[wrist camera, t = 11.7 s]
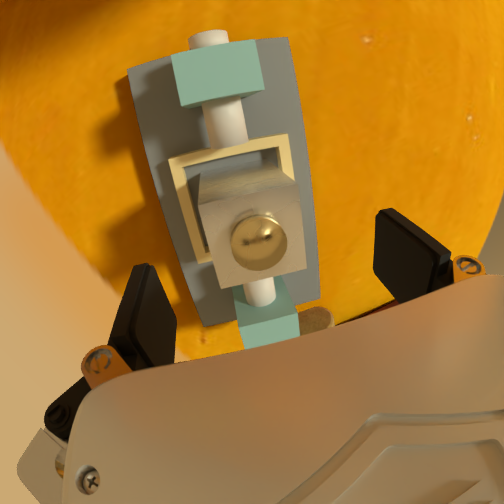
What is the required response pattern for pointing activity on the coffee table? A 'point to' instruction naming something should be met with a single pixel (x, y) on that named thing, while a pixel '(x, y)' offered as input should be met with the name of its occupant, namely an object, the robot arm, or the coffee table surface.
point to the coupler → (251, 222)
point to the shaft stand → (227, 164)
